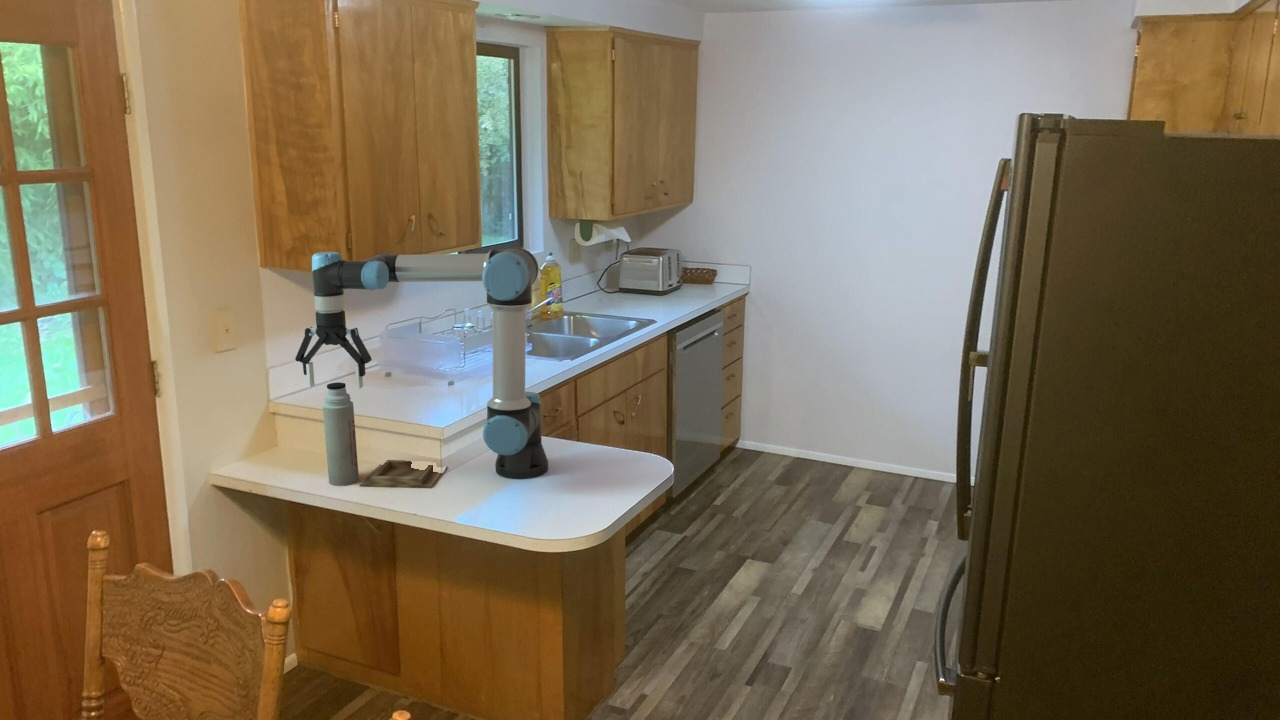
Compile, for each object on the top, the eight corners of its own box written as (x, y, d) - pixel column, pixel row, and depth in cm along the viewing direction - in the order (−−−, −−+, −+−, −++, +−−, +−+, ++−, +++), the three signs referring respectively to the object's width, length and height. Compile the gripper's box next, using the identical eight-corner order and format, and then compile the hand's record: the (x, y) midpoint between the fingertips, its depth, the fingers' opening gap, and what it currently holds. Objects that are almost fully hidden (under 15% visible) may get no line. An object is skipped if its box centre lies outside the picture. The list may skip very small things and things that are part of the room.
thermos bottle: (364, 476, 261) (357, 381, 254) (349, 486, 253) (342, 388, 246) (338, 474, 262) (330, 379, 256) (323, 484, 254) (315, 386, 248)
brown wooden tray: (447, 468, 267) (446, 460, 267) (431, 488, 252) (430, 480, 251) (379, 466, 269) (379, 458, 268) (359, 486, 253) (359, 478, 253)
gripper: (380, 308, 249) (385, 384, 254) (290, 306, 251) (296, 382, 256) (370, 313, 242) (375, 391, 247) (278, 311, 244) (285, 389, 248)
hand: (335, 387), depth 251 cm, fingers open, 13 cm apart
